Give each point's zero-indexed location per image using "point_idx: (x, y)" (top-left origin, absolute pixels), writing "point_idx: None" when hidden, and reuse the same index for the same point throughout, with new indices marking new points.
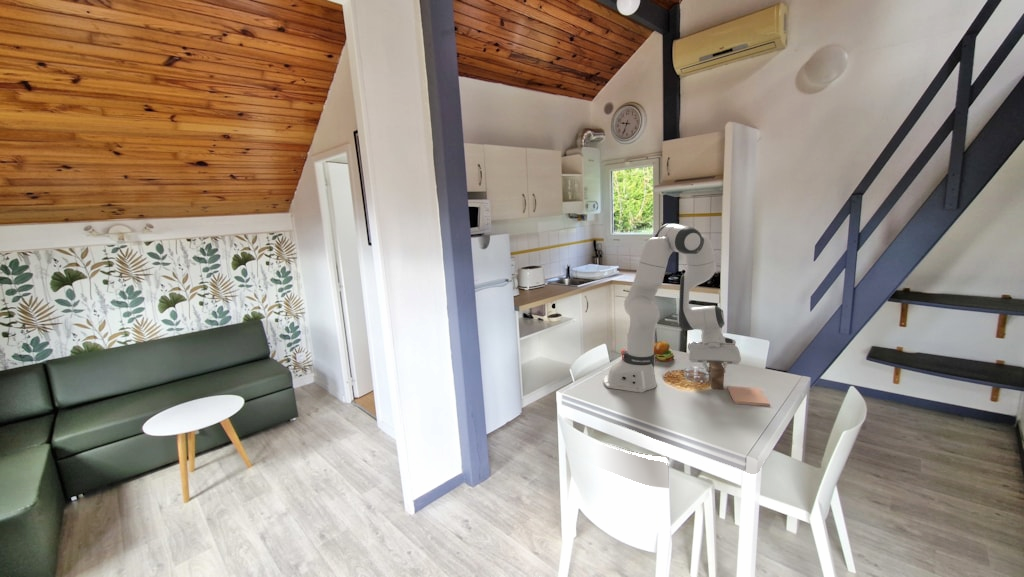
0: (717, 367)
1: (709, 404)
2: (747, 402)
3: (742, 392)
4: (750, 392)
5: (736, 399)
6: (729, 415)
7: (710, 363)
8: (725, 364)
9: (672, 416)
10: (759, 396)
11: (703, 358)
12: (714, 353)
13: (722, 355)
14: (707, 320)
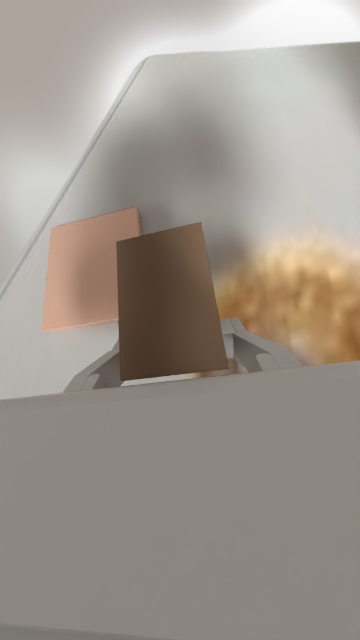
0: (162, 249)
1: (208, 182)
2: (104, 216)
3: (103, 273)
4: (79, 281)
5: (130, 218)
6: (161, 152)
7: (218, 326)
8: (93, 370)
9: (300, 88)
10: (62, 261)
11: (327, 372)
12: (154, 530)
13: (33, 474)
14: None
